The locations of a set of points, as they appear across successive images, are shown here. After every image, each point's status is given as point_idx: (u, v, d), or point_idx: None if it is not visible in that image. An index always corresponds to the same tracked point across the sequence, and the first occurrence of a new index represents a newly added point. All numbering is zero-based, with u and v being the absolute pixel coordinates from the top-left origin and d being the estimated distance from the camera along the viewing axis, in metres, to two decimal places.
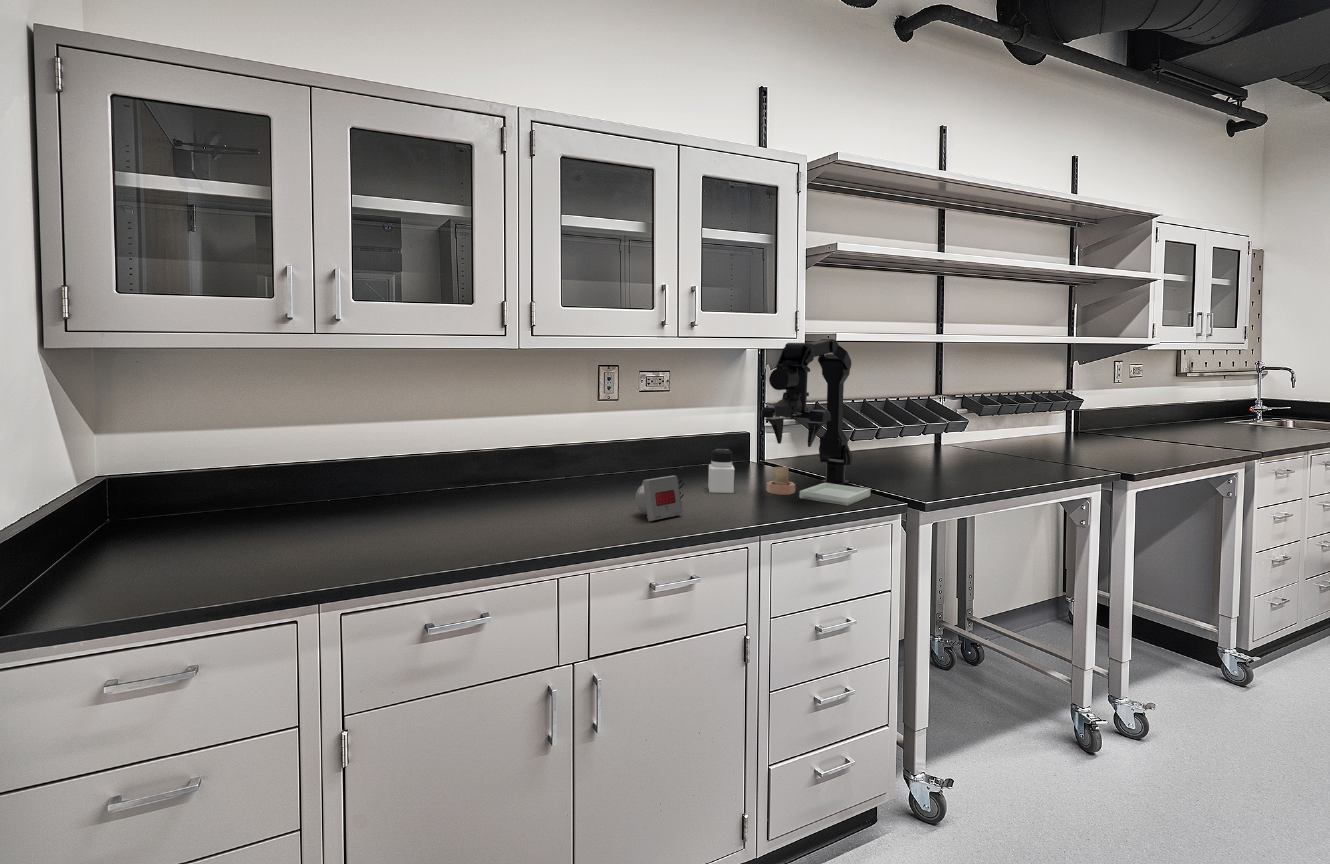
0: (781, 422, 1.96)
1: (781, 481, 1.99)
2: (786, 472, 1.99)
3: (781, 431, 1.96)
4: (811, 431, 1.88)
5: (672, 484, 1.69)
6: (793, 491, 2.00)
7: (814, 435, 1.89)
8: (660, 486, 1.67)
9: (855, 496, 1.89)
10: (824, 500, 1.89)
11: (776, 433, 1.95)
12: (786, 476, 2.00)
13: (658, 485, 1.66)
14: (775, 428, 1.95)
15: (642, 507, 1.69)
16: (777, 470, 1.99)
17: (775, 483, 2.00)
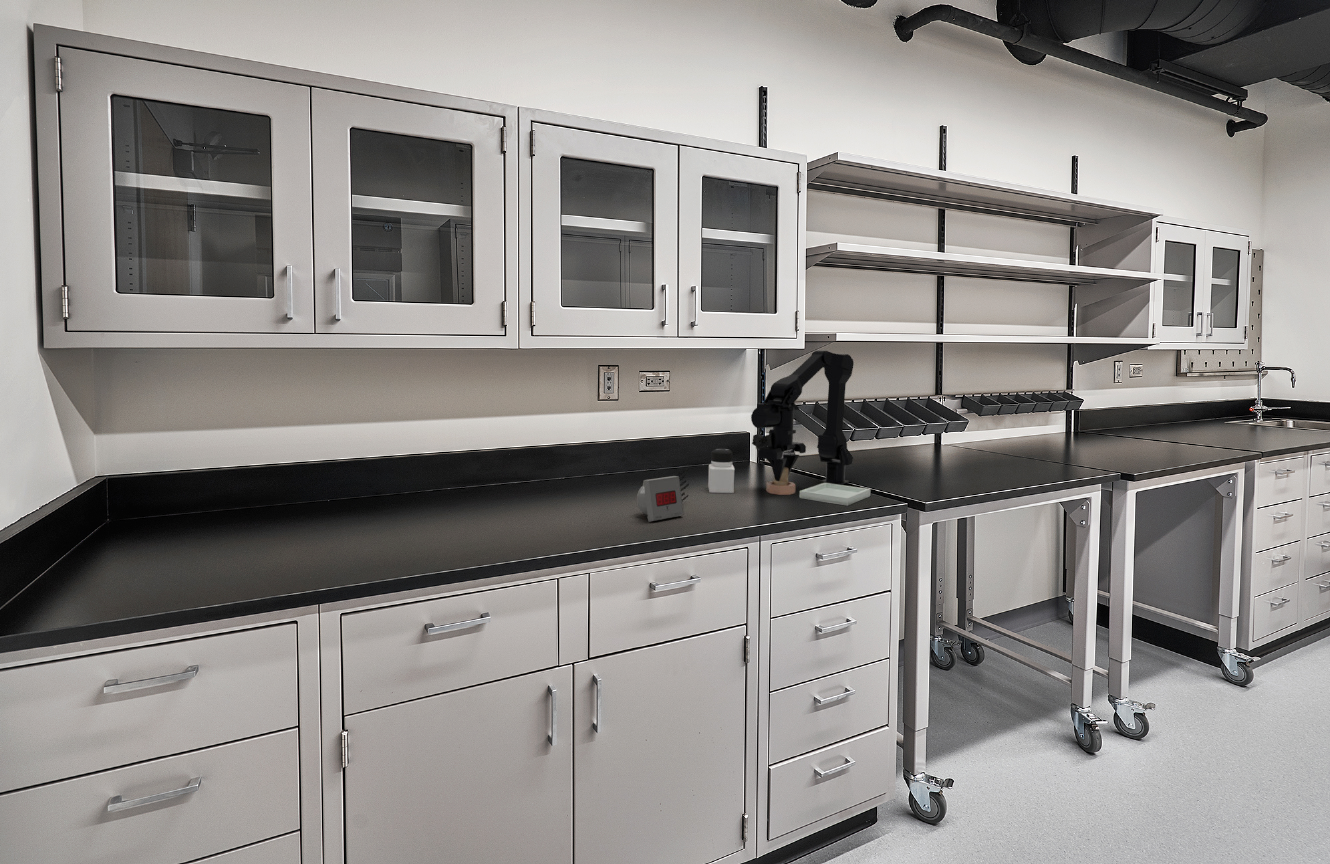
0: (790, 459, 2.02)
1: (781, 481, 1.99)
2: (786, 471, 1.99)
3: (788, 467, 2.02)
4: None
5: (673, 484, 1.69)
6: (793, 491, 2.00)
7: (777, 470, 1.98)
8: (661, 486, 1.66)
9: (855, 496, 1.89)
10: (824, 500, 1.89)
11: None
12: (786, 476, 2.00)
13: (659, 485, 1.66)
14: None
15: (643, 507, 1.68)
16: None
17: (775, 483, 2.00)
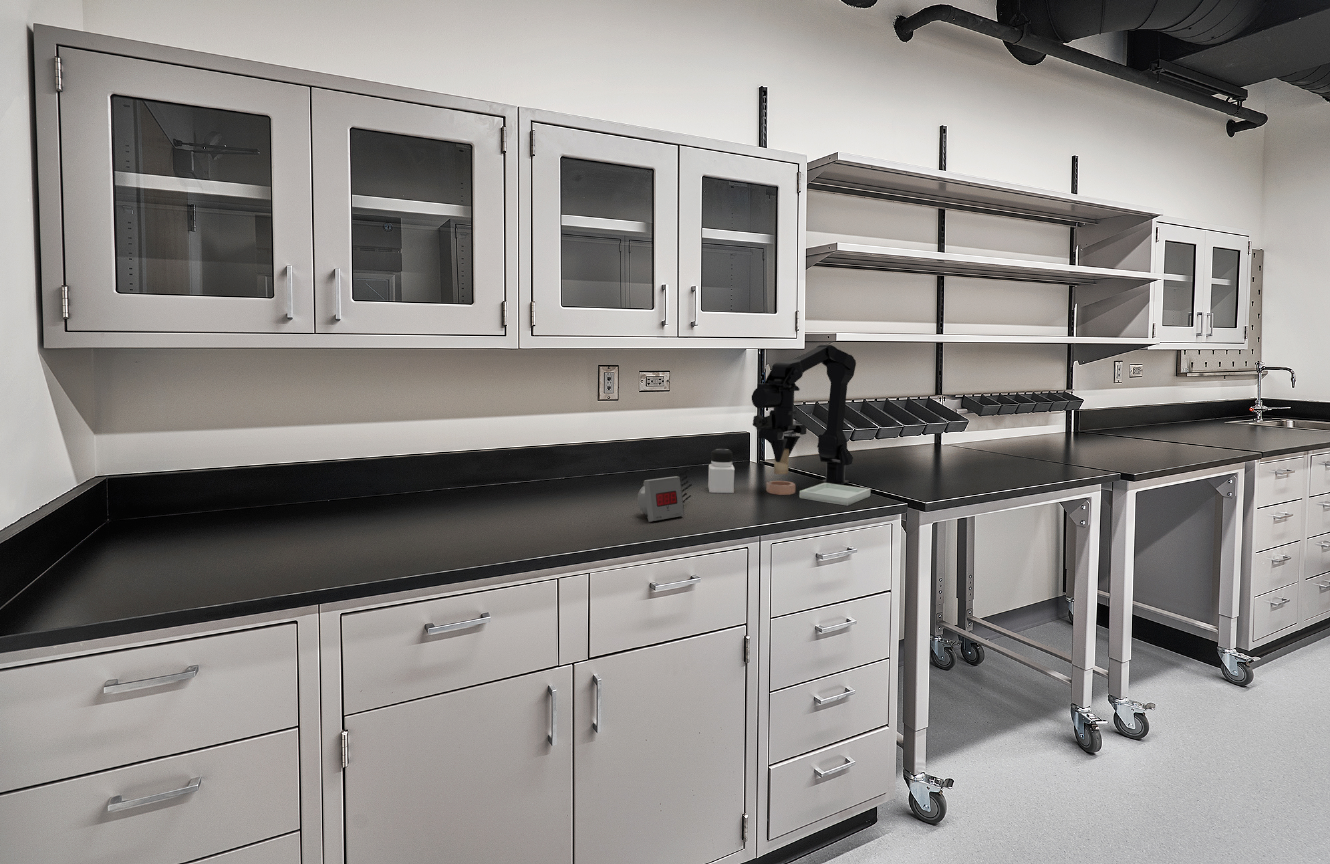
0: (791, 440, 2.01)
1: (781, 462, 1.99)
2: (786, 452, 1.99)
3: None
4: None
5: (674, 485, 1.69)
6: (793, 491, 2.00)
7: (778, 451, 1.97)
8: (661, 487, 1.66)
9: (855, 496, 1.89)
10: (824, 500, 1.89)
11: None
12: (786, 457, 1.99)
13: (659, 486, 1.66)
14: None
15: (643, 508, 1.68)
16: None
17: (775, 464, 2.00)
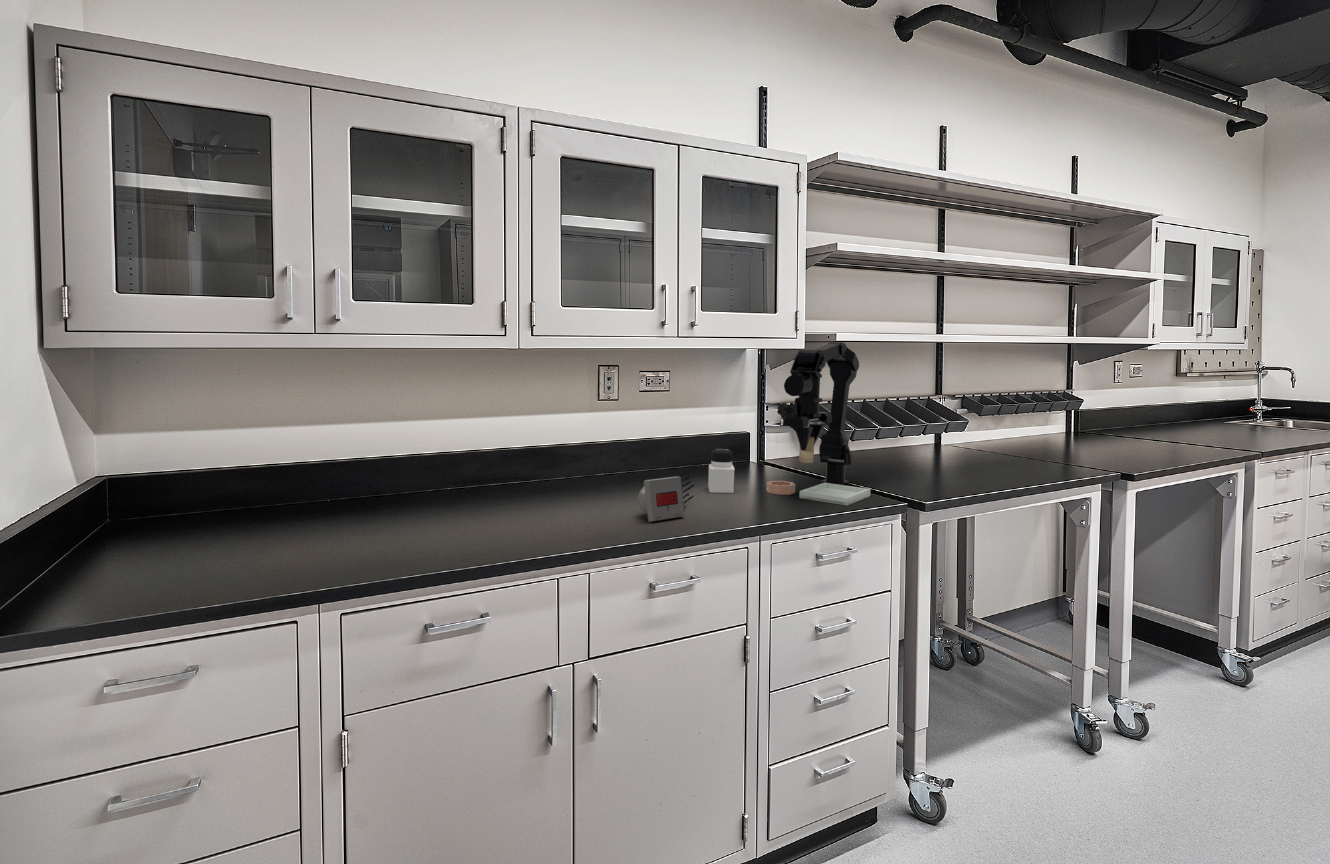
0: (816, 428, 1.98)
1: (807, 451, 1.96)
2: (812, 441, 1.96)
3: (814, 437, 1.98)
4: None
5: (675, 485, 1.68)
6: (793, 491, 2.00)
7: (803, 439, 1.94)
8: (661, 487, 1.66)
9: (855, 496, 1.89)
10: (824, 500, 1.89)
11: None
12: (812, 445, 1.96)
13: (659, 486, 1.65)
14: None
15: (644, 508, 1.68)
16: None
17: (801, 453, 1.97)
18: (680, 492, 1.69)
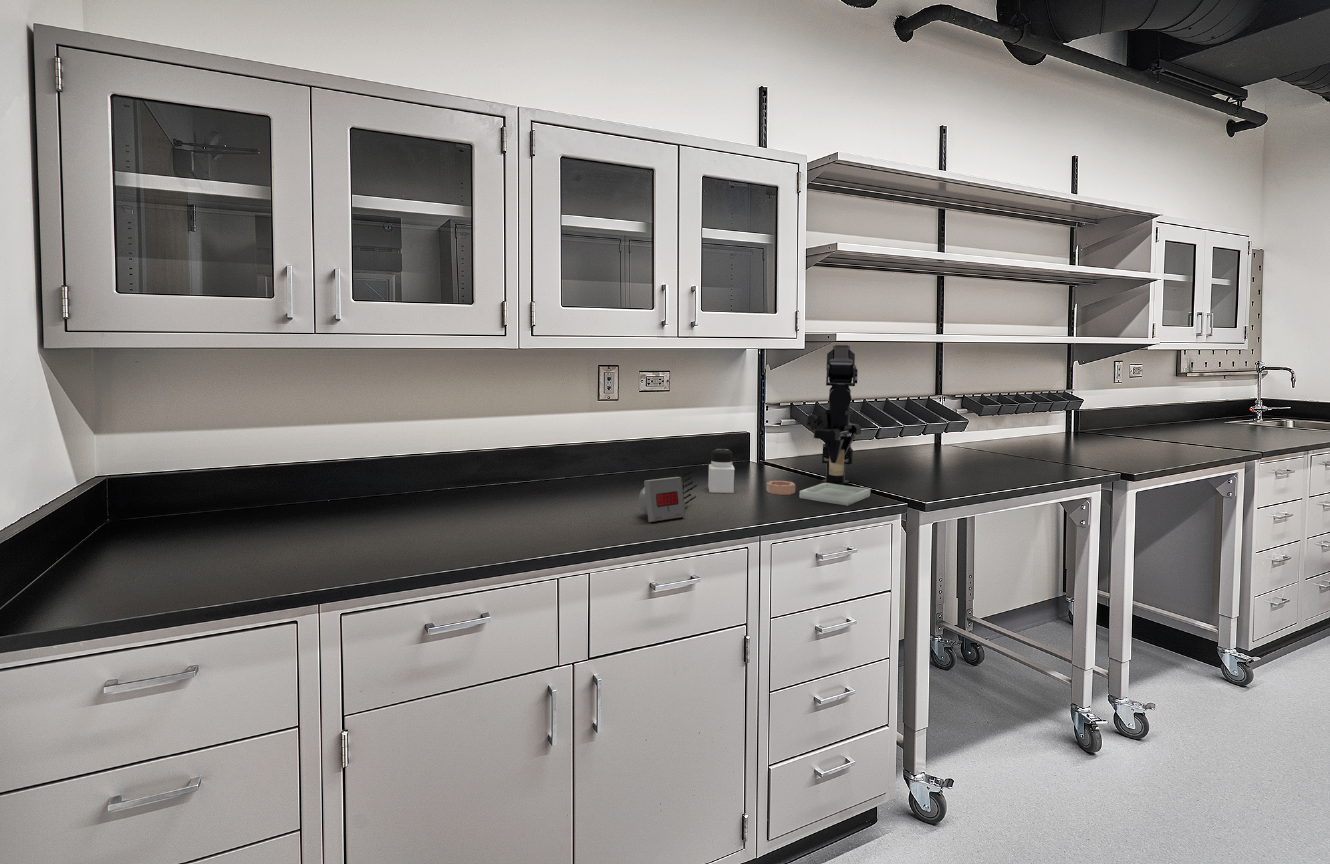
0: (846, 440, 1.95)
1: (837, 463, 1.93)
2: (842, 453, 1.93)
3: (844, 449, 1.95)
4: None
5: (675, 485, 1.68)
6: (793, 491, 2.00)
7: (834, 452, 1.91)
8: (662, 487, 1.65)
9: (855, 496, 1.89)
10: (824, 500, 1.89)
11: None
12: (842, 458, 1.93)
13: (659, 486, 1.65)
14: None
15: (644, 508, 1.68)
16: None
17: (831, 465, 1.94)
18: (681, 492, 1.68)
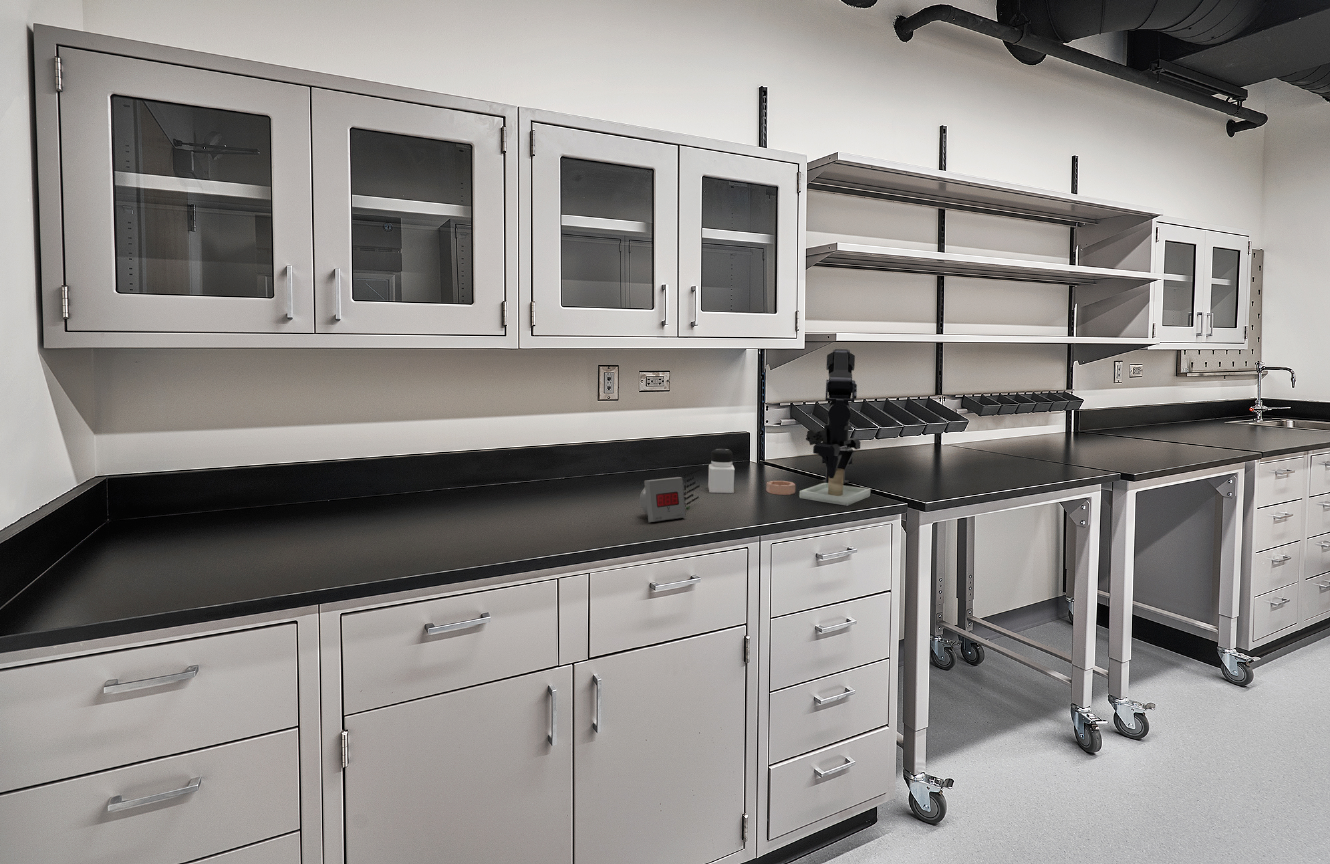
0: (847, 455, 1.96)
1: (836, 483, 1.93)
2: (841, 473, 1.93)
3: (844, 464, 1.97)
4: None
5: (676, 486, 1.67)
6: (793, 491, 2.00)
7: (831, 467, 1.91)
8: (662, 487, 1.65)
9: (855, 496, 1.89)
10: (824, 500, 1.89)
11: None
12: (841, 478, 1.94)
13: (660, 486, 1.65)
14: None
15: (645, 508, 1.68)
16: None
17: (830, 485, 1.94)
18: (681, 493, 1.68)
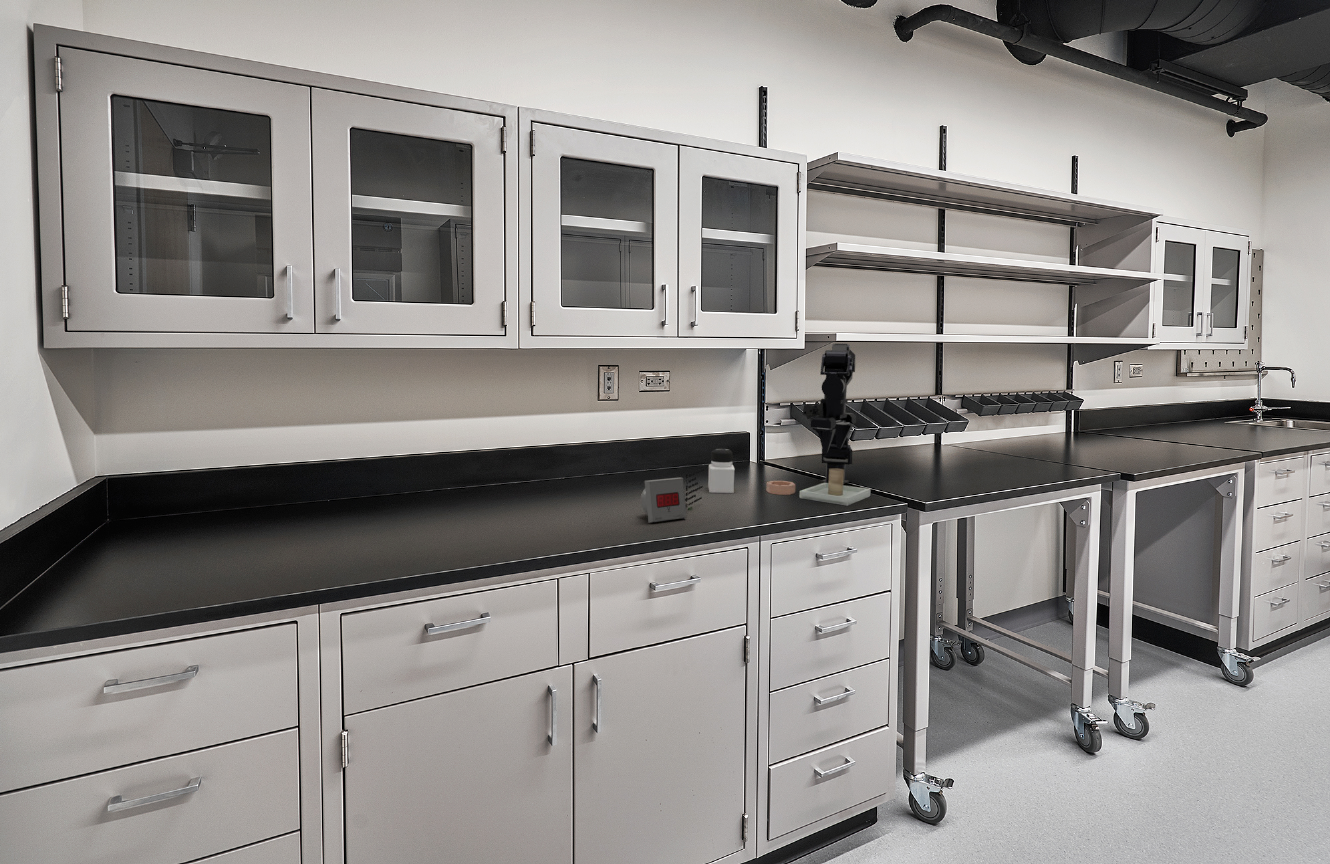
0: (845, 429, 1.99)
1: (836, 483, 1.93)
2: (842, 473, 1.93)
3: (842, 437, 1.99)
4: None
5: (676, 486, 1.67)
6: (793, 491, 2.00)
7: (826, 441, 1.92)
8: (662, 488, 1.65)
9: (855, 496, 1.89)
10: (824, 500, 1.89)
11: None
12: (841, 478, 1.94)
13: (660, 486, 1.65)
14: None
15: (645, 508, 1.68)
16: (833, 471, 1.93)
17: (830, 485, 1.94)
18: (682, 493, 1.67)
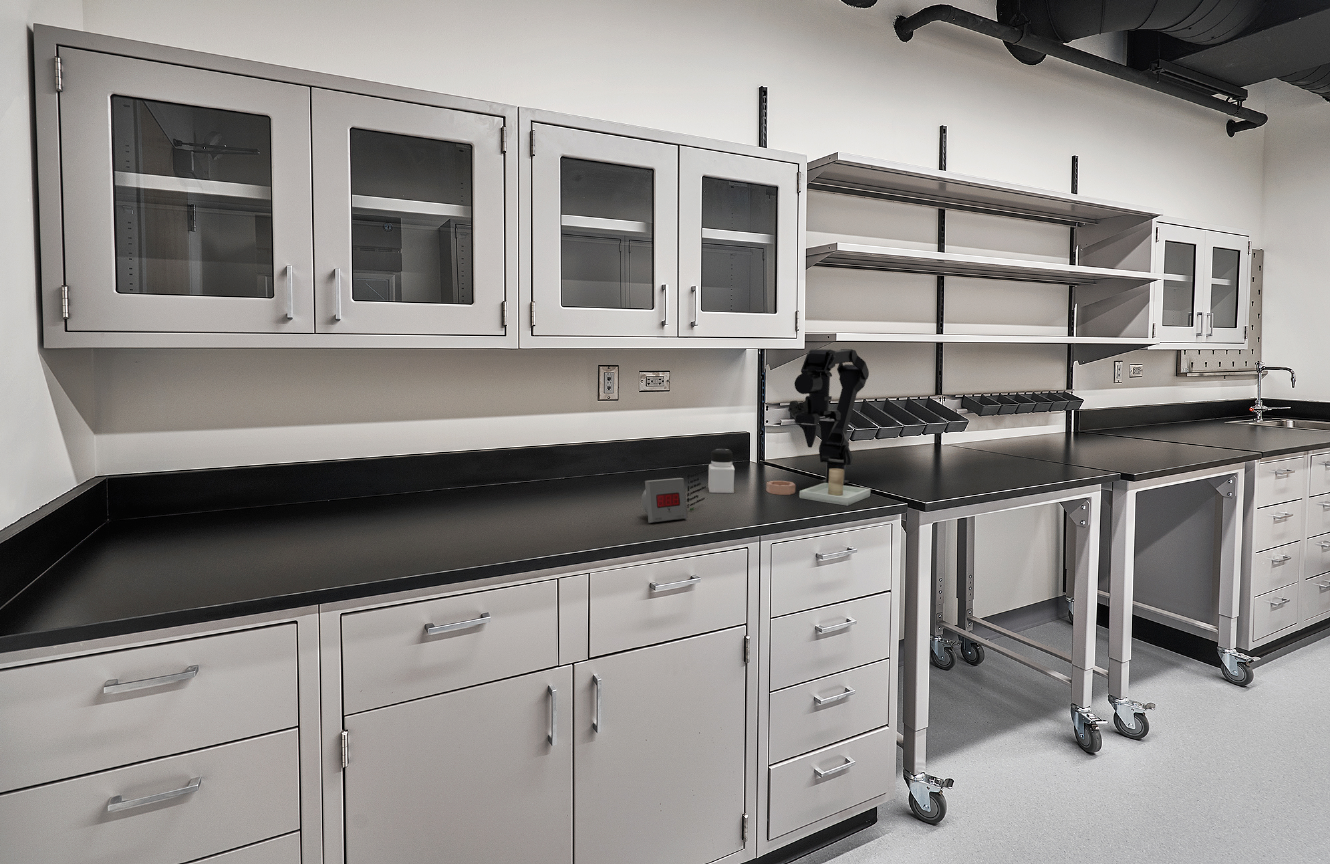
0: (829, 425, 2.07)
1: (836, 483, 1.93)
2: (842, 473, 1.93)
3: (827, 433, 2.07)
4: None
5: (677, 486, 1.66)
6: (793, 491, 2.00)
7: (810, 437, 1.99)
8: (663, 488, 1.65)
9: (855, 496, 1.89)
10: (824, 500, 1.89)
11: None
12: (841, 478, 1.94)
13: (660, 487, 1.64)
14: None
15: (646, 508, 1.68)
16: (833, 471, 1.93)
17: (830, 485, 1.94)
18: (683, 494, 1.67)
